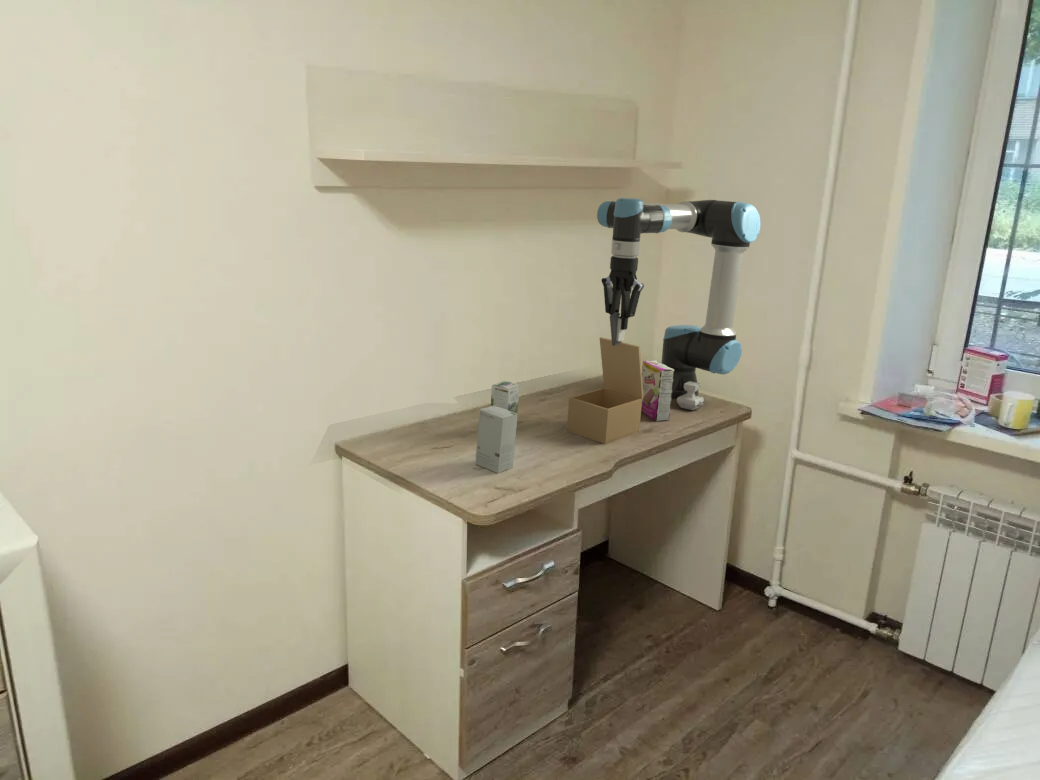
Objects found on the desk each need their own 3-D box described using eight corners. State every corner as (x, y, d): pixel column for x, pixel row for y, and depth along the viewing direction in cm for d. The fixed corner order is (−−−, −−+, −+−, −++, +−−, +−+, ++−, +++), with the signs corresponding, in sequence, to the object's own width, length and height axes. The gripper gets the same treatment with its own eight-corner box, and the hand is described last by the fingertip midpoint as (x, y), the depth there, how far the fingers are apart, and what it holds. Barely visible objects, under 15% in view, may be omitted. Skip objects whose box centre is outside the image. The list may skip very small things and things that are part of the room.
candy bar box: (637, 410, 250) (642, 360, 245) (651, 409, 251) (656, 359, 247) (655, 422, 240) (661, 369, 235) (669, 420, 242) (675, 369, 237)
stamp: (672, 407, 255) (674, 382, 252) (681, 403, 260) (683, 378, 258) (698, 413, 250) (701, 388, 247) (706, 409, 255) (709, 384, 253)
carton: (601, 419, 240) (603, 387, 237) (639, 431, 230) (642, 399, 228) (566, 430, 228) (569, 397, 225) (605, 444, 219) (608, 409, 216)
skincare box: (474, 464, 200) (476, 409, 196) (491, 458, 205) (493, 404, 200) (499, 474, 195) (501, 417, 191) (515, 468, 199) (518, 412, 195)
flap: (599, 391, 235) (605, 386, 237) (637, 402, 226) (643, 397, 228) (591, 312, 224) (598, 308, 225) (631, 320, 215) (637, 316, 216)
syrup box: (499, 428, 227) (501, 379, 223) (517, 432, 225) (519, 383, 220) (488, 433, 223) (490, 384, 218) (506, 438, 220) (509, 388, 216)
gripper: (595, 253, 219) (589, 337, 226) (637, 260, 210) (630, 346, 217) (612, 252, 224) (606, 333, 231) (653, 258, 215) (645, 342, 222)
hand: (617, 339), depth 224 cm, fingers closed on flap
